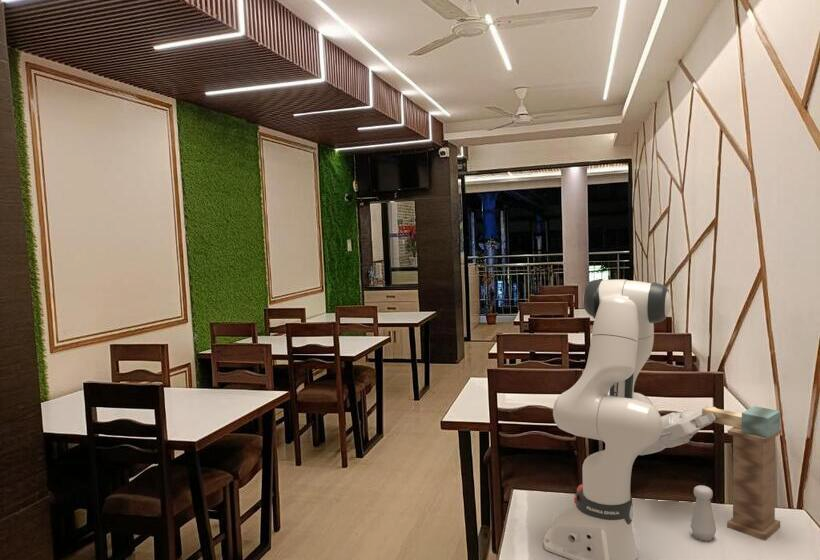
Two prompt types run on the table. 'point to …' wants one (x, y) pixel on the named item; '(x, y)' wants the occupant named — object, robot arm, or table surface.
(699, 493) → the salt shaker
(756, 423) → the mallet
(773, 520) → the pedestal
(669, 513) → the table surface
